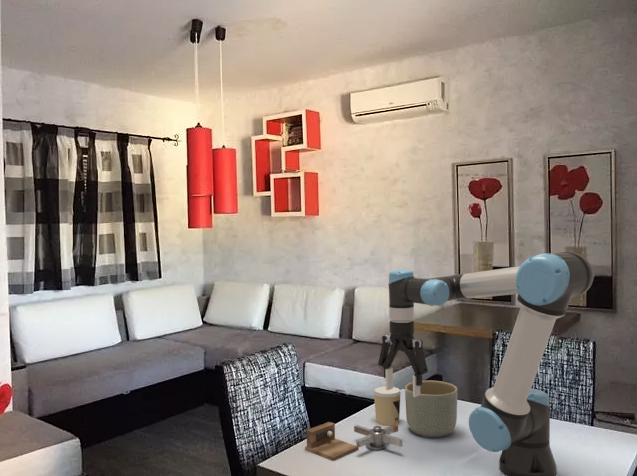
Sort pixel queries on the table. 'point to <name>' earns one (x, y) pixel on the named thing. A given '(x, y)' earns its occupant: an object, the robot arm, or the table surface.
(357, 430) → the silver cross-shaped piece
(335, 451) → the stand
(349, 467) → the table surface
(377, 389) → the coffee cup
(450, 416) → the planter
